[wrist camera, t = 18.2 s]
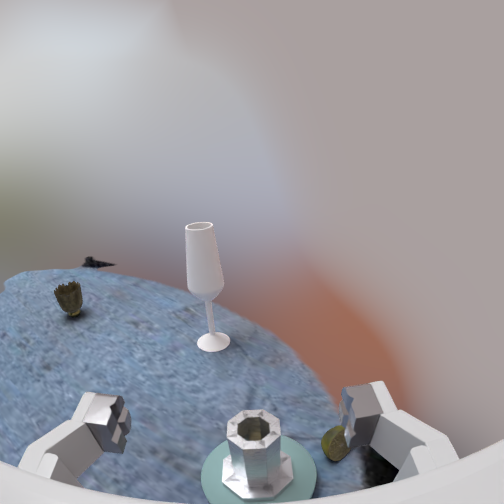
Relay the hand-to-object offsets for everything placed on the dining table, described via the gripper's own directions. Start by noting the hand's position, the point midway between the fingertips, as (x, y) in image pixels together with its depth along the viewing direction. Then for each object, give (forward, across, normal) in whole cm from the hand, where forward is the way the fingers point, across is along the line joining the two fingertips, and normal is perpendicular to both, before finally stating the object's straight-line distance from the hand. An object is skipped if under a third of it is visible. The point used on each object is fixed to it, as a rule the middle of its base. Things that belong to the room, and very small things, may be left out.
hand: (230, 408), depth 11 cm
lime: (+16, -11, +30) cm, 36 cm away
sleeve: (+12, 0, +28) cm, 30 cm away
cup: (+56, +45, +30) cm, 78 cm away
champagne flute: (+45, +7, +30) cm, 55 cm away
